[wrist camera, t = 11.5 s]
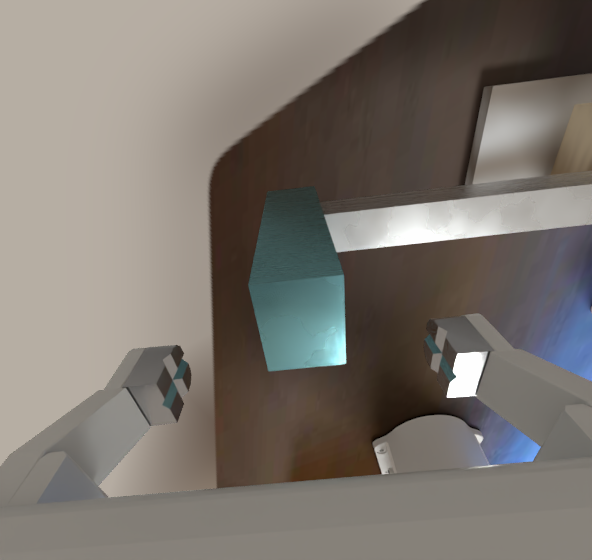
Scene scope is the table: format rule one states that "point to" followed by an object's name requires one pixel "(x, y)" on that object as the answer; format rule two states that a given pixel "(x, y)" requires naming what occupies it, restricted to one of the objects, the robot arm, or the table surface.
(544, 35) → the table surface
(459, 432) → the robot arm
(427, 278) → the table surface
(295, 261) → the shaft
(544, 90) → the stand
